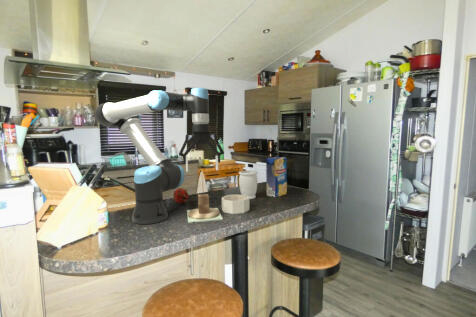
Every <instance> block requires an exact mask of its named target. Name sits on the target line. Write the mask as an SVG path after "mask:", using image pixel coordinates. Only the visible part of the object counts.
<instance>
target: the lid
mask: <svg viewBox="0 0 476 317" xmlns="http://www.w3.org/2000/svg"><path fill="white" fill-rule="evenodd" d="M197 202H198V203H197V204H198V205H197V208H193V209H190V210H191V211H189V212H188V216H189V217H190V218H192V219H211V218H214V217H217V216H218V215H219V212H220V210H219V208H218V209H215V208H216V207H210V196H209V194H208V193H202V194H200V193H199V194H197ZM188 216H187V217H188Z"/></svg>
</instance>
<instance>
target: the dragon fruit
mask: <svg viewBox="0 0 476 317" xmlns="http://www.w3.org/2000/svg"><path fill="white" fill-rule="evenodd" d="M172 194H173V196H172V197H173V201H174V202H175V203H178V204H179V205H181V204H183V203H186V202H187V201H188V200H191V196H190V195H189V193H188V190H187V189H185V188H183V187H177V188H176V189H175V190H174V191H173V193H172Z"/></svg>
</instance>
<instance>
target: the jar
mask: <svg viewBox="0 0 476 317" xmlns="http://www.w3.org/2000/svg"><path fill="white" fill-rule="evenodd" d="M238 174H239V177H238V186H239V191H240V195H246V196H248V197H249V200H253V199H255V198H257V197H256V193H257V190H258V171H256V170H241V171H239V172H238Z"/></svg>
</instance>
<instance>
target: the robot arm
mask: <svg viewBox="0 0 476 317" xmlns="http://www.w3.org/2000/svg"><path fill="white" fill-rule="evenodd" d="M209 107H210V105H209V91H208V89H207V88H204V87H193V88H191V91H190V93H175V92H171V91H169V92H168V91H164V90H152V91H150V92H149V93H148V94H145V95H142V96H137V97H134V98H129V99H126V100H122V101H118V102H108V101H107V102H104V103H100V104H99V105H97V107H96V108H95V111H94V118H95V120H96V122H97V123H99V125H101V126H103V127H107V128H117V129H118V130H119V132H120V133H121V134H124V135H126V136H127V137H128V139H129V140H130V142H131V143H132V144H133V146H134V147H135V149H137V151H138V152H139V154H140V155H141V156H142V158H143V159H144V160H145V162H146V164H148V165H147V166H143V167H140V168H137V169H136V170H135V171H134V173H133V176H134V178H133V182H134V183H133V184H134V194H135V196H134V198H135V204H134V205H135V206H134V209H133V212H132V218H131V219H132V223H135V224H138V225H150V224H156V223H160V222H164V221H165V220H167V219H168V217H169V214H168V213H169V212H168V210H167V208H166V205H165V202H164V199H163V198H164V197H163V196H164V195H163V193H164V192H167V191H168V192H169V191H171V190H176V189H178V188H180V187H181V186H182V185H183V183H184V182H185V176H186V175H185V172H186V173H187V172H189V165H188V164H189V162H188V158H189V157H188V156H187V155H189V153H190V152H191V150H192V149H193V148H194V147H195V145H206V144H207V145H208V146H209V147H210V149H211V150H212V151H213V152H214V153H215V154H216V155H215V170H216V171H219V163H221V156H222V155H224V154H225V152H224V149H223V147H222V146H221V144H220V142H219V139H218V136H217V134H216V133H214V134H210V124H209V123H210V112H209V111H210V109H209ZM159 111H171V112H178V113H179V112H186V111H187V112H189V111H190V112H191V119H192V123H193V124H191V125H192V126H191V127H192V128H191V129H192V134H190V135H189V134H185V137H184V138H185V140H184V141H183V144H182V146H181V149H180V150H179V153H178V156H179V157H182V160H183V161H182V163H183V165H185V169H184V168H183V167H182V166H181V165H180V164H178V163H177V164H176V163H175V164H174V162H173V161H172V160H171V159H170V158H168V157H165V156H164V154H163V153H162V151H161V150H160V149H159V148H158V146H157V145H156V143H155V142H154V141H153V140H152V138H151V137H150V136H149V134H148V133H147V132H146V130H145V129H144V128H143V126H142V117H141V115H145V114H150V113H155V112H159ZM191 139H192V140H193V141H192V143H191V144H190V146H189V147H188V148H187V149H186V150H185V148H186V146H187V144H188V142H189V141H190V140H191ZM210 139H212V140H213V141H214V143H215V145H216V147H217V148H216V147H215V146H214V145H213V144H212V143H211V141H210ZM217 149H218V150H219V151H218V150H217ZM184 150H185V152H184ZM183 152H184V153H183Z"/></svg>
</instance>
